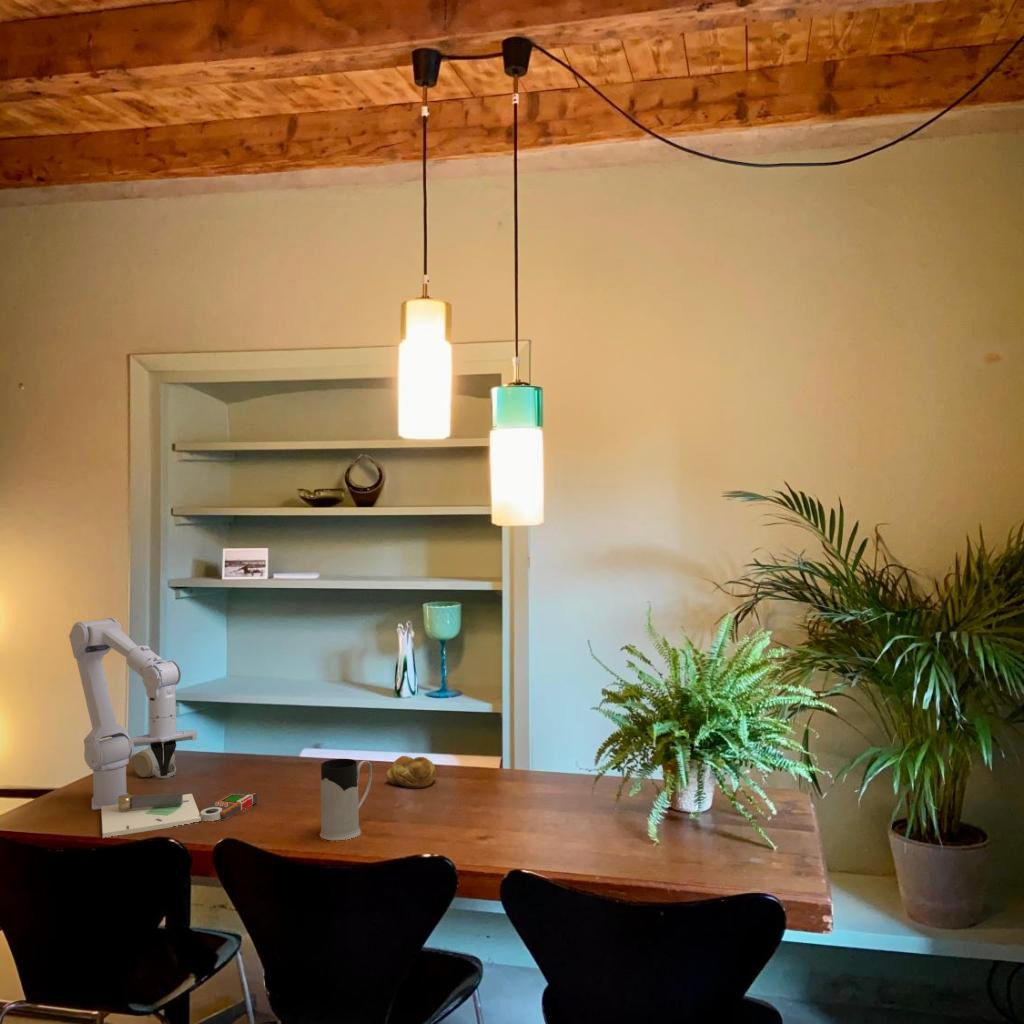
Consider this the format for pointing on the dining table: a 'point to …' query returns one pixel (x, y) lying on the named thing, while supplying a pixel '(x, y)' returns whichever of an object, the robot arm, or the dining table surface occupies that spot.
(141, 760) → the ceramic mug
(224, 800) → the electronic device
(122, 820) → the dial plate
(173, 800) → the grey metal bar
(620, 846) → the dining table surface
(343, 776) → the tall beer stein
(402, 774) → the bread roll
